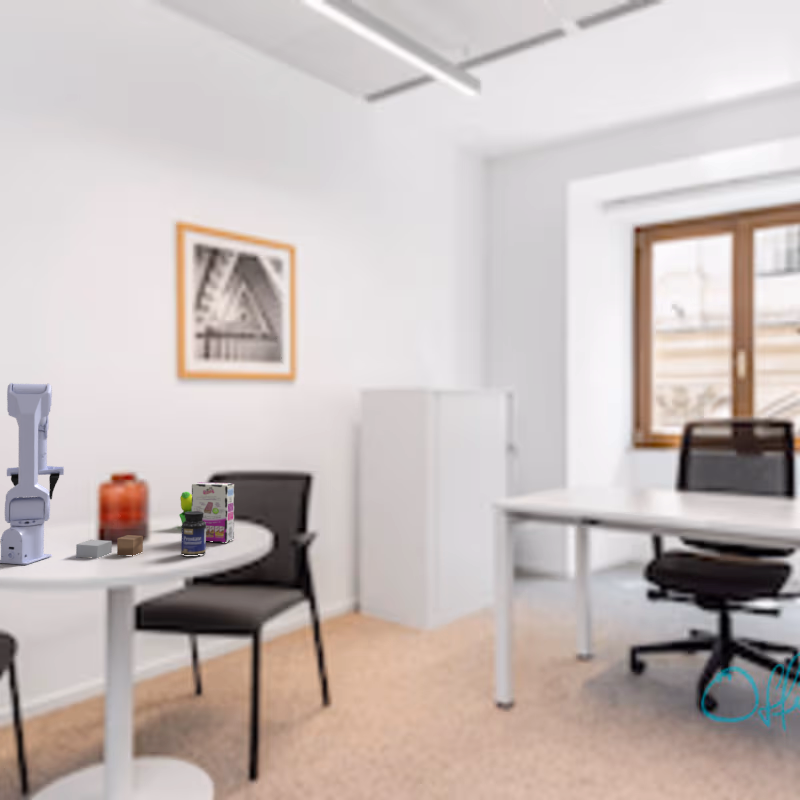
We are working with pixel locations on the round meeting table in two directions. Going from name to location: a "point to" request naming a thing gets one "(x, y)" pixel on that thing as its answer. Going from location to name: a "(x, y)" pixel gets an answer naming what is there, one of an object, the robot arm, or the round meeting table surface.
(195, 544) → the pill bottle
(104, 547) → the grey block
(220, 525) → the candy bar box
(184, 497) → the yellow green toy
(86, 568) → the round meeting table surface
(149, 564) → the round meeting table surface
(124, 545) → the walnut cube
